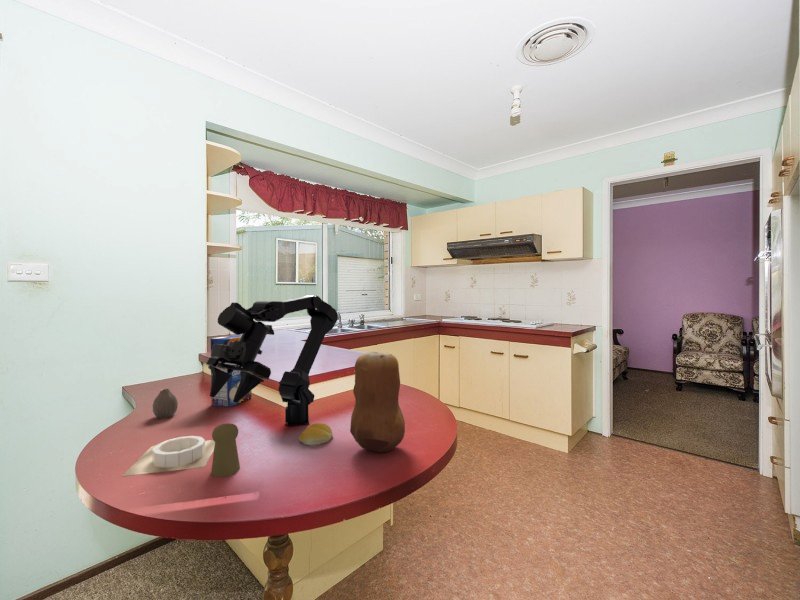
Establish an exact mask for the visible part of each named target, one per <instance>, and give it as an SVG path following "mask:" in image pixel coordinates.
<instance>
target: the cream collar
mask: <svg viewBox="0 0 800 600" xmlns="http://www.w3.org/2000/svg"><path fill="white" fill-rule="evenodd" d="M205 441H206V440H205V438H204V437H203V436H198V435H197V436H196V435H188V436H178V437H175V438H170V439H167V440H165V441H162V442H159V443H158V444H156V445H154V446H155V447H154V448H153V449H152V455H153V464H154V465H155V466H156V467H163V468H165V467H166V468H168V467H177V466H182V465H185V464H188V463H192V462H194V461H196V460H198V459H199V458H201V457H202V456H203V455H204V453H205Z"/></svg>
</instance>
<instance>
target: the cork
mask: <svg viewBox="0 0 800 600" xmlns="http://www.w3.org/2000/svg"><path fill="white" fill-rule="evenodd" d="M238 435H239V428H238V426H237V425H236V424H234V423H223V424H220V425H219V424H218V425H217V426H215V427H214V429H213V430H212V433H211V437H212V440H213V441H214V442H215V446H214V451H213V453H212V455H213V456H212V461H211V462H212V463H211V468H210V469H211V471H210V475H211V476H212V477H215V478H224V477H229V476H232V475H235V474H236V473H238V471H240V468H241V464H240V460H239V453H238V446H237V442H236V440H237V437H238Z"/></svg>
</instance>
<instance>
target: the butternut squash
mask: <svg viewBox="0 0 800 600" xmlns="http://www.w3.org/2000/svg"><path fill="white" fill-rule="evenodd" d="M400 387H401V376H400V367H399V361H398V358H397V357H396V356H395V355H393V354H391V353H389V352H388V353H387V352H385V353H383V352H378V351H367V352H364V353H362V354H360V355H359V356H358V357H357V358H356V360H355V363H354V387H353V390H352V391H353V397H354V398H355V401H354V403H355V404H354V407H353V409H352V412H351V416H350V431H349V433H350V434H351V435H352V437H353V439H354V440H355V442H356V444H358V445H359V447H361V448H363V449H364V450H367V451H372V452H375V453H377V454H380V453H387V452H389V451H391V450H393V449H394V448H396V447H397V446H399V445H400V444H401V442H402V441H403V439H404V437H405V434H406V433H405V432H406V431H405V430H406V421H405V417H404V414H403V412H402V409H401V407H400V404H399V393H400Z"/></svg>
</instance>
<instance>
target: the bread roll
mask: <svg viewBox="0 0 800 600" xmlns="http://www.w3.org/2000/svg"><path fill="white" fill-rule="evenodd" d="M332 437H333V430H332V428H331V427H330V426H329V425H328V424H327V423H324V422H314V423H312V424H310V425H309V426H307V427H306V428H305V430H303V431H302V432H301V433H300V435H299V441H300V442H301V443H302V444H304V445H306V446H317V445H318V444H319V445H323V444H326V443H328V442H329V441H330V440H331V439H332ZM322 443H323V444H322Z"/></svg>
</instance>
